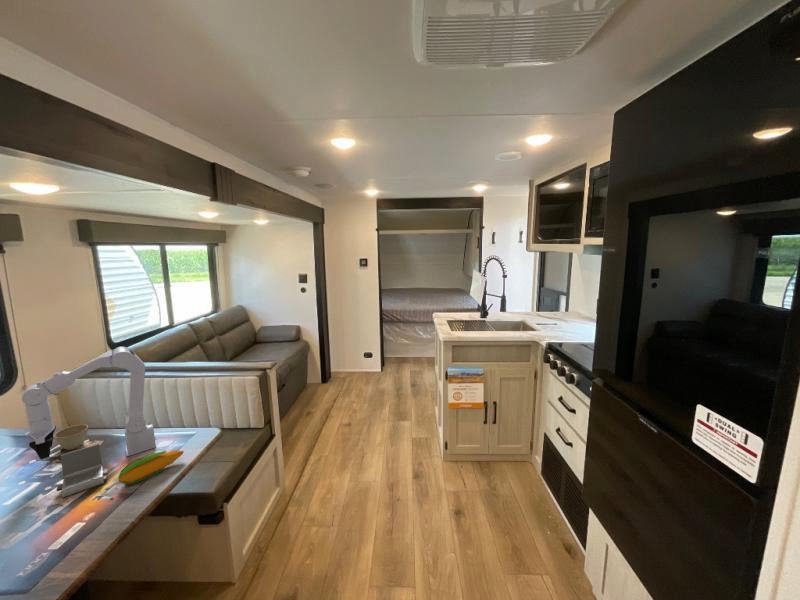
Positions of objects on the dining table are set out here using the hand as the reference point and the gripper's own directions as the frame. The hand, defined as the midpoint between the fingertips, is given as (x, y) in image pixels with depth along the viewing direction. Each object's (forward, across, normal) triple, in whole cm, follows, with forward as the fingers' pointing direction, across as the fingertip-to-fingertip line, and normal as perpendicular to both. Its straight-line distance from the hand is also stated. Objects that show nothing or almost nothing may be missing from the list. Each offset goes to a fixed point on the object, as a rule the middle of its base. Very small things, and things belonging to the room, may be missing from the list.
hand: (46, 452), depth 115 cm
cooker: (+10, +14, +9) cm, 19 cm away
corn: (+10, +22, +28) cm, 37 cm away
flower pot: (+10, -20, +5) cm, 23 cm away
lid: (+3, +10, +9) cm, 14 cm away
